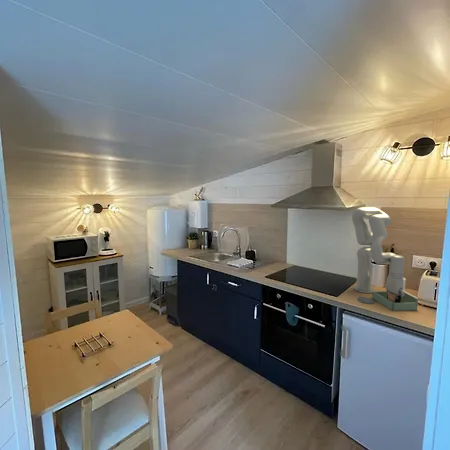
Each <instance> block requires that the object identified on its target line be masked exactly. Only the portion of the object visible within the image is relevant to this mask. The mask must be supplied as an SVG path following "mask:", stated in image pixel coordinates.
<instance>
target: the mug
mask: <svg viewBox="0 0 450 450" xmlns="http://www.w3.org/2000/svg"><path fill="white" fill-rule="evenodd" d="M406 282H407V279H406V277H404V276H403V291H405V292H406V290H405V289H406Z"/></svg>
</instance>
